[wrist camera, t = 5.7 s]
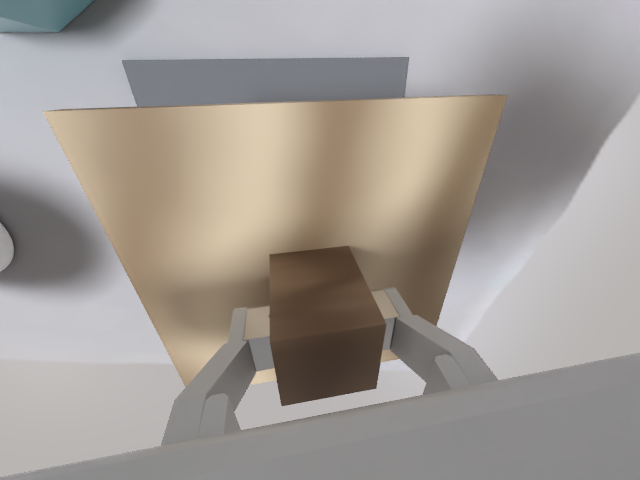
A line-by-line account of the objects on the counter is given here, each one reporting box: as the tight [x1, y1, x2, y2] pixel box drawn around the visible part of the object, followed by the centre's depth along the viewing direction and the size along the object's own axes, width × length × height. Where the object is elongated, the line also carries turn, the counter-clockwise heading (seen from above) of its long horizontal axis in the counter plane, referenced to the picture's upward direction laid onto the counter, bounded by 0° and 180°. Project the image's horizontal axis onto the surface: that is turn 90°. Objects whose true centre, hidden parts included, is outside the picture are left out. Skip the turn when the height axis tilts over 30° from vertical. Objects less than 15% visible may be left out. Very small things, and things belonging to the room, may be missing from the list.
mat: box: [122, 57, 409, 107], centre depth 24 cm, size 20×20×1 cm
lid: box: [43, 95, 507, 406], centre depth 11 cm, size 15×15×5 cm
